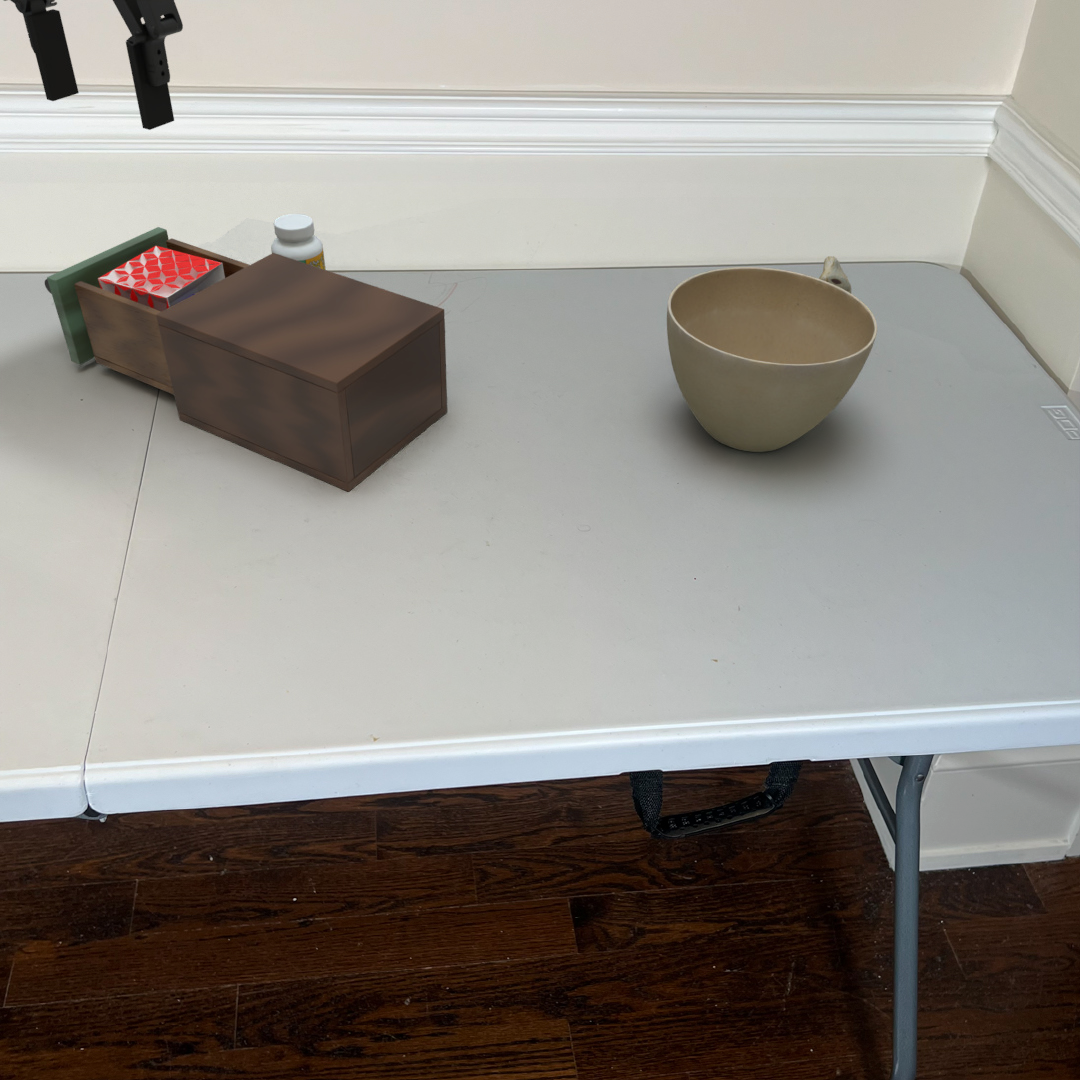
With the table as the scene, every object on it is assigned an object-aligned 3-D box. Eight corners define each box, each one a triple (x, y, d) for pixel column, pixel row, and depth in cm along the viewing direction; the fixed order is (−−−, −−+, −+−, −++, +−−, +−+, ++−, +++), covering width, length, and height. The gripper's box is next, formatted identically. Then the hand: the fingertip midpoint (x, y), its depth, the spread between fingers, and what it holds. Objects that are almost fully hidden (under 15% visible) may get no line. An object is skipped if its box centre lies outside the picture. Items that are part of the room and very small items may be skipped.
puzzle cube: (172, 318, 105) (155, 245, 100) (235, 336, 103) (222, 262, 98) (117, 354, 100) (97, 278, 95) (183, 374, 97) (166, 297, 92)
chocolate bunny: (860, 344, 110) (883, 257, 104) (808, 364, 107) (829, 275, 100) (822, 323, 114) (842, 236, 107) (770, 341, 110) (788, 253, 104)
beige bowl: (871, 483, 91) (907, 364, 84) (670, 486, 90) (687, 365, 82) (816, 376, 105) (842, 265, 97) (640, 377, 104) (653, 264, 96)
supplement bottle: (321, 290, 115) (311, 207, 109) (336, 311, 112) (327, 227, 106) (273, 299, 114) (261, 215, 107) (287, 321, 110) (275, 235, 104)
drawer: (36, 347, 102) (9, 263, 97) (141, 294, 111) (123, 214, 106) (212, 421, 94) (194, 333, 88) (311, 357, 103) (301, 274, 97)
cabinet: (179, 419, 95) (155, 314, 88) (287, 352, 105) (273, 252, 98) (348, 492, 88) (336, 383, 81) (447, 411, 98) (444, 308, 91)
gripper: (-118, -230, 73) (-22, 93, 88) (114, -197, 65) (178, 154, 80) (-26, -235, 78) (50, 72, 93) (200, -204, 70) (245, 127, 85)
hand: (109, 110), depth 86 cm, fingers open, 10 cm apart
